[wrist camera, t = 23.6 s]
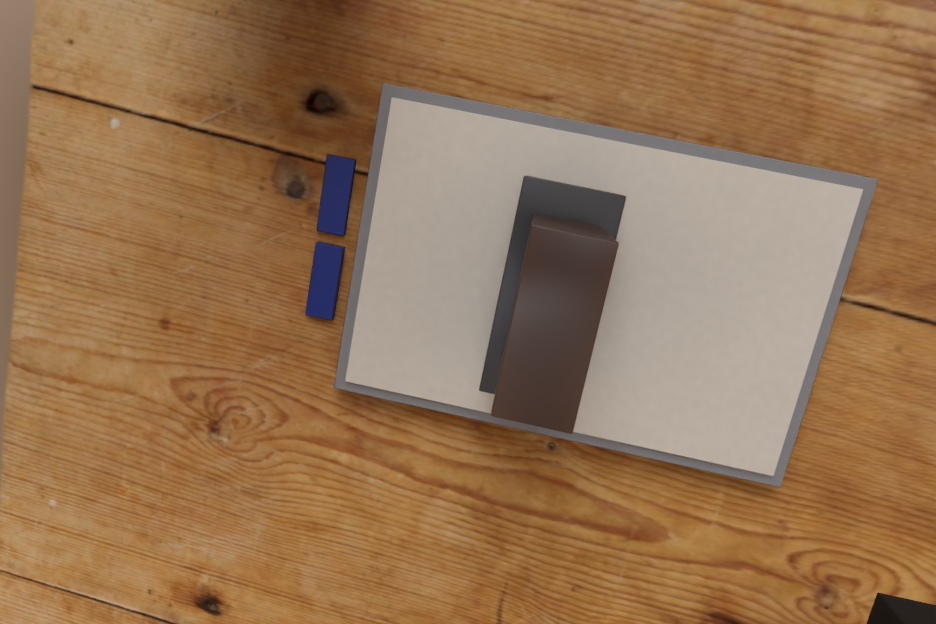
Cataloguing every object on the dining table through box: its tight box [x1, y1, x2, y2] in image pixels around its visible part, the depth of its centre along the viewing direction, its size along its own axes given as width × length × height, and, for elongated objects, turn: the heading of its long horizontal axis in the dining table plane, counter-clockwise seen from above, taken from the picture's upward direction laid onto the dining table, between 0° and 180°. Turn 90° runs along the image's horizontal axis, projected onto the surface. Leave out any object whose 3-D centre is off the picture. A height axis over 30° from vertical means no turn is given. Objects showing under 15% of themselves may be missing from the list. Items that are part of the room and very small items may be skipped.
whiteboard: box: [334, 83, 878, 487], centre depth 35 cm, size 24×16×1 cm, turn 79°
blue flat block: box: [317, 154, 356, 236], centre depth 36 cm, size 4×2×1 cm, turn 169°
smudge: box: [305, 242, 345, 320], centre depth 37 cm, size 4×2×1 cm, turn 169°
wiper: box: [479, 176, 626, 434], centre depth 29 cm, size 4×10×11 cm, turn 169°
